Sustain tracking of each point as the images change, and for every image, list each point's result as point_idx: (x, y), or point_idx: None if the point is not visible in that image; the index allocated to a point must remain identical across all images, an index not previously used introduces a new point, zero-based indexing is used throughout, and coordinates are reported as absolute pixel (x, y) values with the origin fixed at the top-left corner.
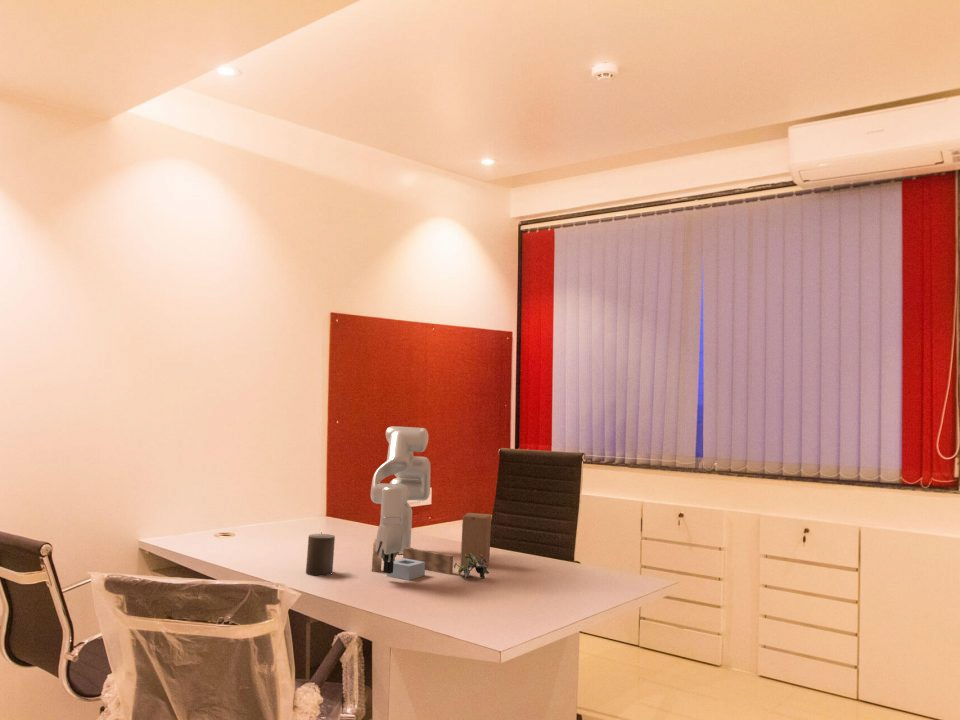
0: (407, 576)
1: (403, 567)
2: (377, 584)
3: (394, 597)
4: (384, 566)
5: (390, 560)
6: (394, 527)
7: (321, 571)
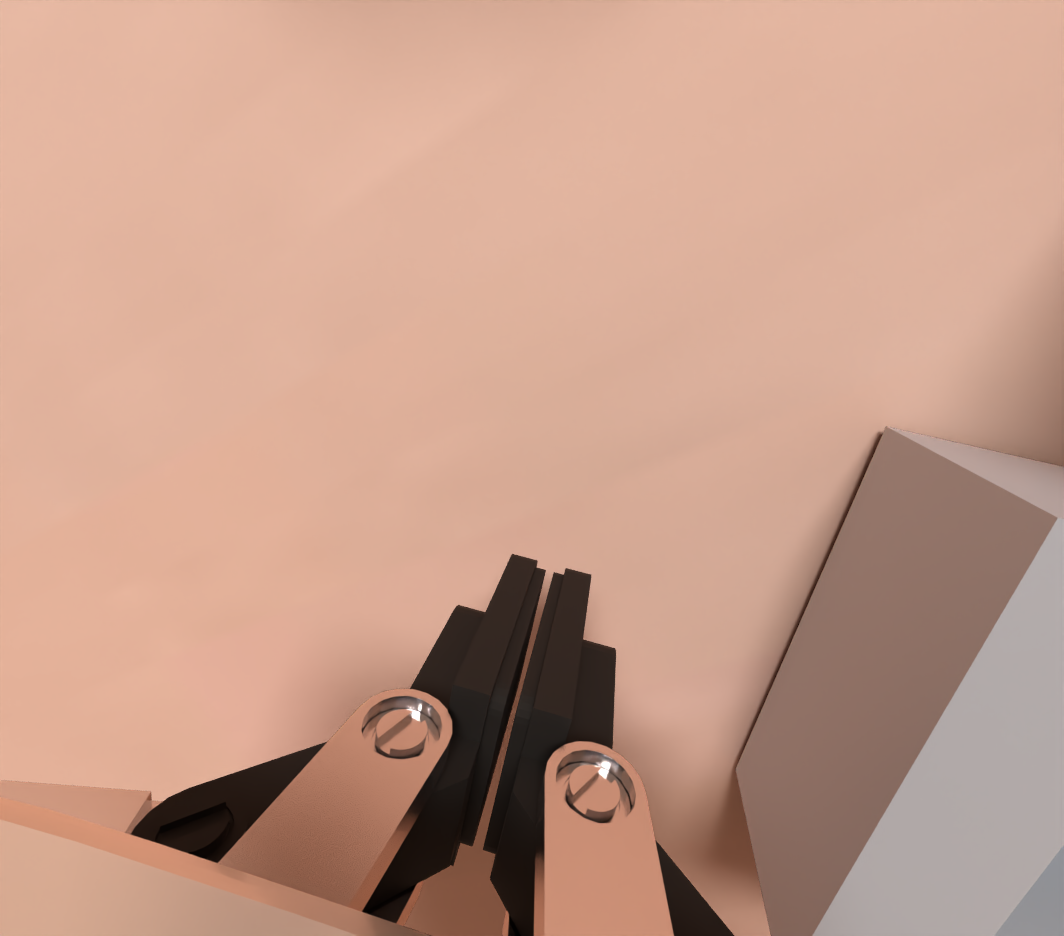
0: (752, 790)
1: (821, 849)
2: (362, 492)
3: (80, 783)
4: (436, 649)
5: (413, 886)
6: None
7: None
